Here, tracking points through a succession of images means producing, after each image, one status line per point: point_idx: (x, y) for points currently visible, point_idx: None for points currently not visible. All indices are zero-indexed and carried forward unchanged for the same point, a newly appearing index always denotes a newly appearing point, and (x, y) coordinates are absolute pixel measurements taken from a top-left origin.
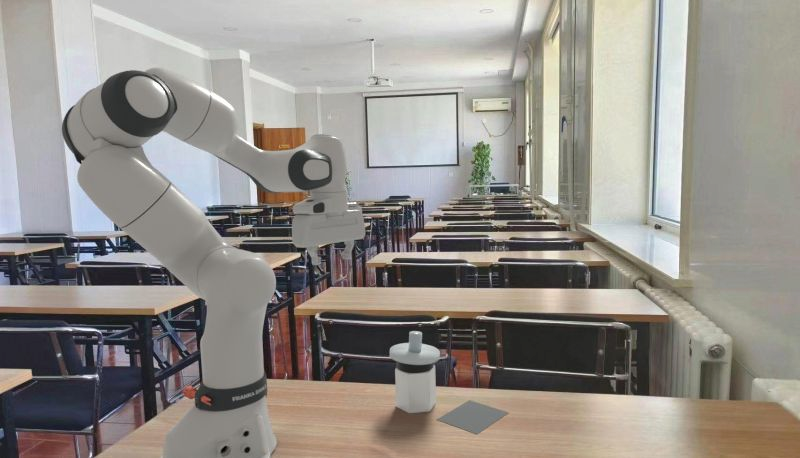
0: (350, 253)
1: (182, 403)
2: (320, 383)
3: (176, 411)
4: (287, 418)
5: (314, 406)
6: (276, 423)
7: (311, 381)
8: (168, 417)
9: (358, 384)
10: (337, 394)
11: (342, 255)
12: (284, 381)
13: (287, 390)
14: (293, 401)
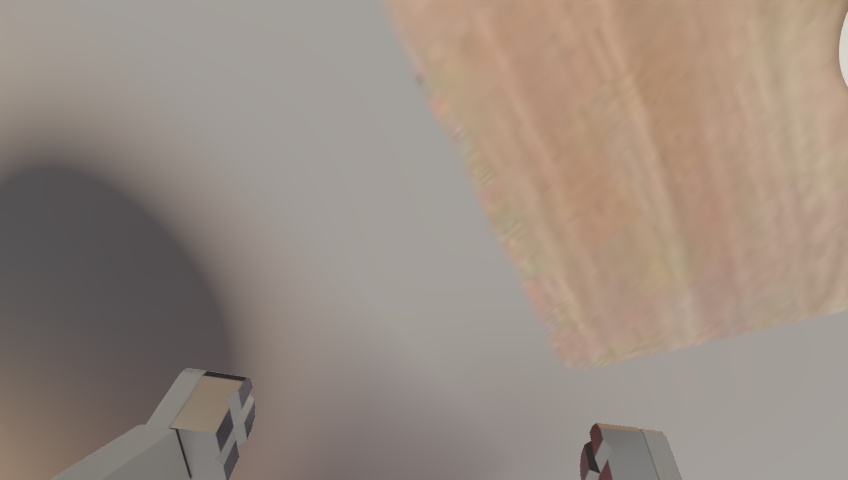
0: (163, 409)
1: (728, 331)
2: (468, 140)
3: (773, 311)
4: (726, 40)
5: (619, 31)
6: (768, 43)
7: (471, 173)
8: (809, 301)
9: (409, 28)
10: (509, 32)
11: (237, 446)
12: (509, 234)
13: (556, 185)
14: (613, 115)
